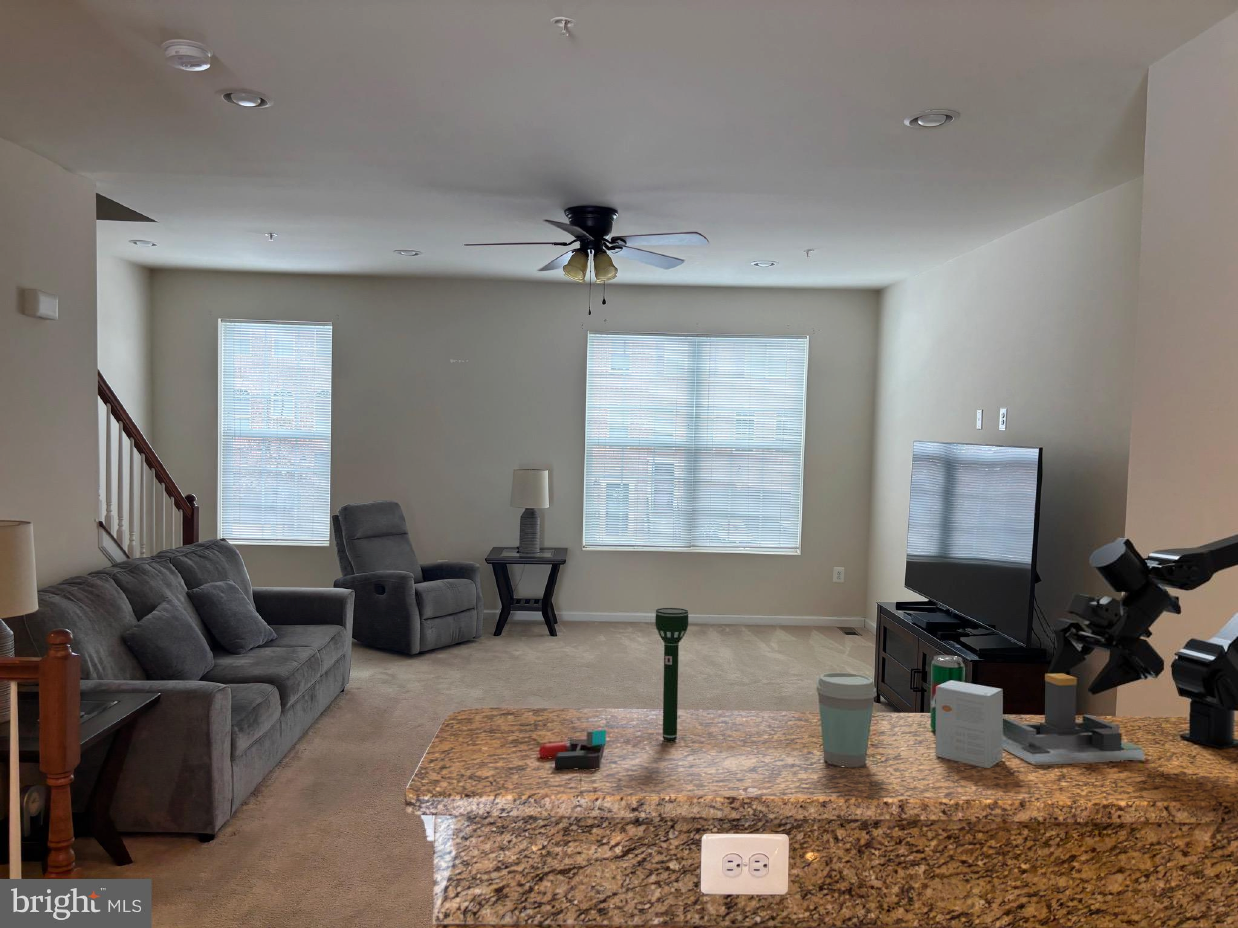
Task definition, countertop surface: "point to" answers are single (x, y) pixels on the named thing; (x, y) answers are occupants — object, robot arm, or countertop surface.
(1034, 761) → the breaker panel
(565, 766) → the toy gun
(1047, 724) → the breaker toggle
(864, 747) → the coffee cup
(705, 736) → the countertop surface
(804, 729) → the countertop surface
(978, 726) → the small box
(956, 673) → the soda can
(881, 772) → the countertop surface
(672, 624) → the flashlight
